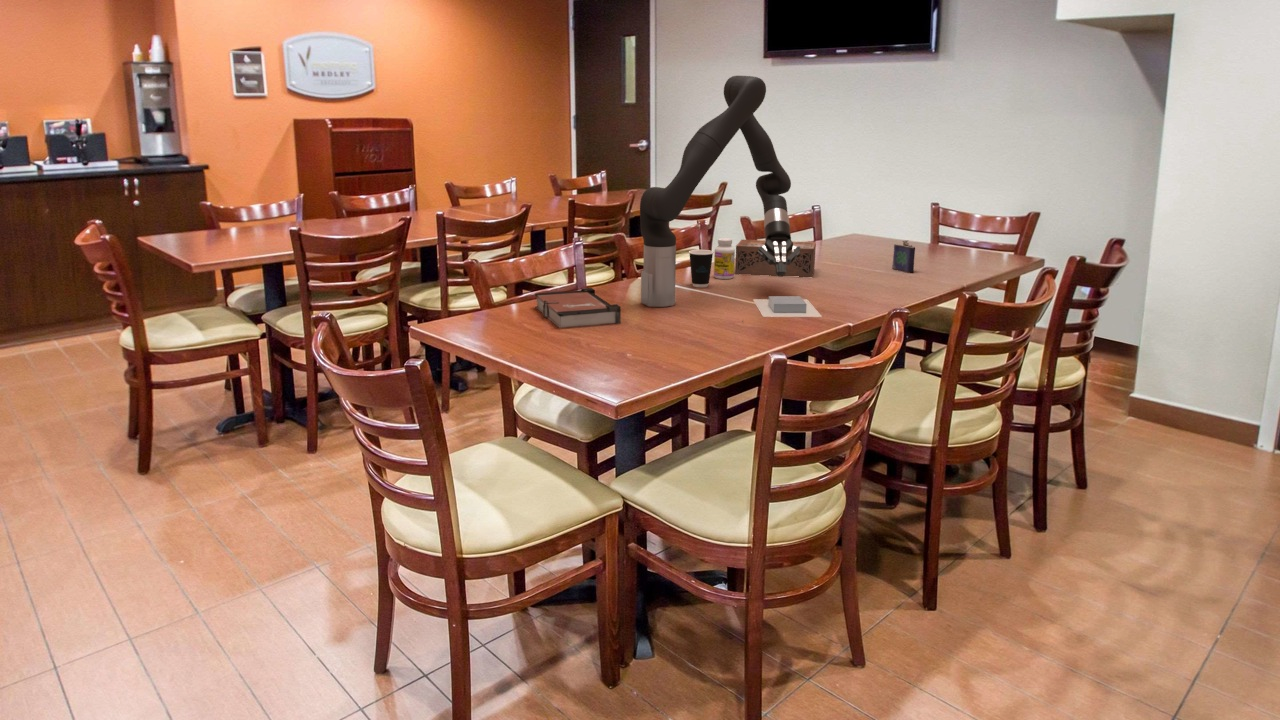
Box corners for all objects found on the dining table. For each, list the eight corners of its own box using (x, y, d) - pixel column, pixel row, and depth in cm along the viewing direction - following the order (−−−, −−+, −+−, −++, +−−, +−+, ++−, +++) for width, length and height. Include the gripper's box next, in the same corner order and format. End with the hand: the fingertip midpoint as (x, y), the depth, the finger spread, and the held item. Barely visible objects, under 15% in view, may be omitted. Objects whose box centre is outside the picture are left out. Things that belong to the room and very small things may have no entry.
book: (533, 309, 254) (532, 291, 253) (591, 304, 260) (591, 287, 259) (556, 330, 231) (556, 311, 229) (620, 325, 236) (620, 306, 235)
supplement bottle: (710, 278, 296) (711, 239, 292) (718, 275, 302) (719, 237, 298) (729, 280, 293) (730, 241, 289) (736, 276, 299) (738, 238, 295)
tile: (768, 296, 255) (773, 303, 245) (800, 296, 255) (806, 303, 245) (768, 304, 255) (773, 312, 246) (799, 304, 255) (806, 312, 246)
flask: (890, 269, 313) (893, 238, 310) (896, 268, 314) (899, 238, 311) (909, 273, 305) (912, 242, 302) (915, 272, 307) (918, 241, 304)
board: (752, 301, 262) (752, 299, 262) (806, 301, 263) (807, 299, 262) (763, 318, 241) (763, 316, 241) (822, 318, 241) (822, 316, 241)
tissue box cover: (735, 275, 303) (736, 245, 301) (740, 267, 317) (741, 239, 314) (812, 278, 298) (813, 248, 295) (814, 270, 311) (815, 242, 308)
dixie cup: (701, 282, 289) (701, 248, 286) (718, 286, 284) (719, 251, 280) (682, 285, 285) (683, 251, 282) (699, 289, 279) (700, 254, 276)
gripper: (756, 219, 265) (760, 267, 257) (801, 219, 265) (806, 267, 257) (753, 234, 271) (757, 282, 263) (797, 234, 271) (802, 282, 263)
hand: (781, 275), depth 260 cm, fingers closed
